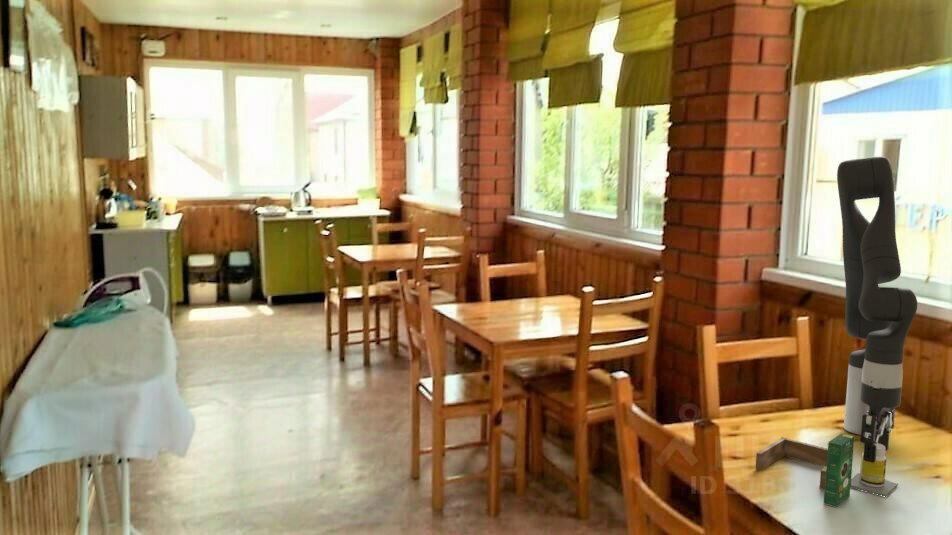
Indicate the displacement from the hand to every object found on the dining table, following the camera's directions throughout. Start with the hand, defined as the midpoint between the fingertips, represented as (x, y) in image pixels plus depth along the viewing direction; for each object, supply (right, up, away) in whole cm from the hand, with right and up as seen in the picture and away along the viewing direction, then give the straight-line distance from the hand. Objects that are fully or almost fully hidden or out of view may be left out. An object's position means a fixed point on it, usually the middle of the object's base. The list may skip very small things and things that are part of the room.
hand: (875, 455), depth 164 cm
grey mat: (-1, -7, +1) cm, 7 cm away
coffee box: (-11, -8, -6) cm, 15 cm away
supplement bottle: (0, -6, +1) cm, 6 cm away
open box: (-12, -6, +9) cm, 16 cm away
